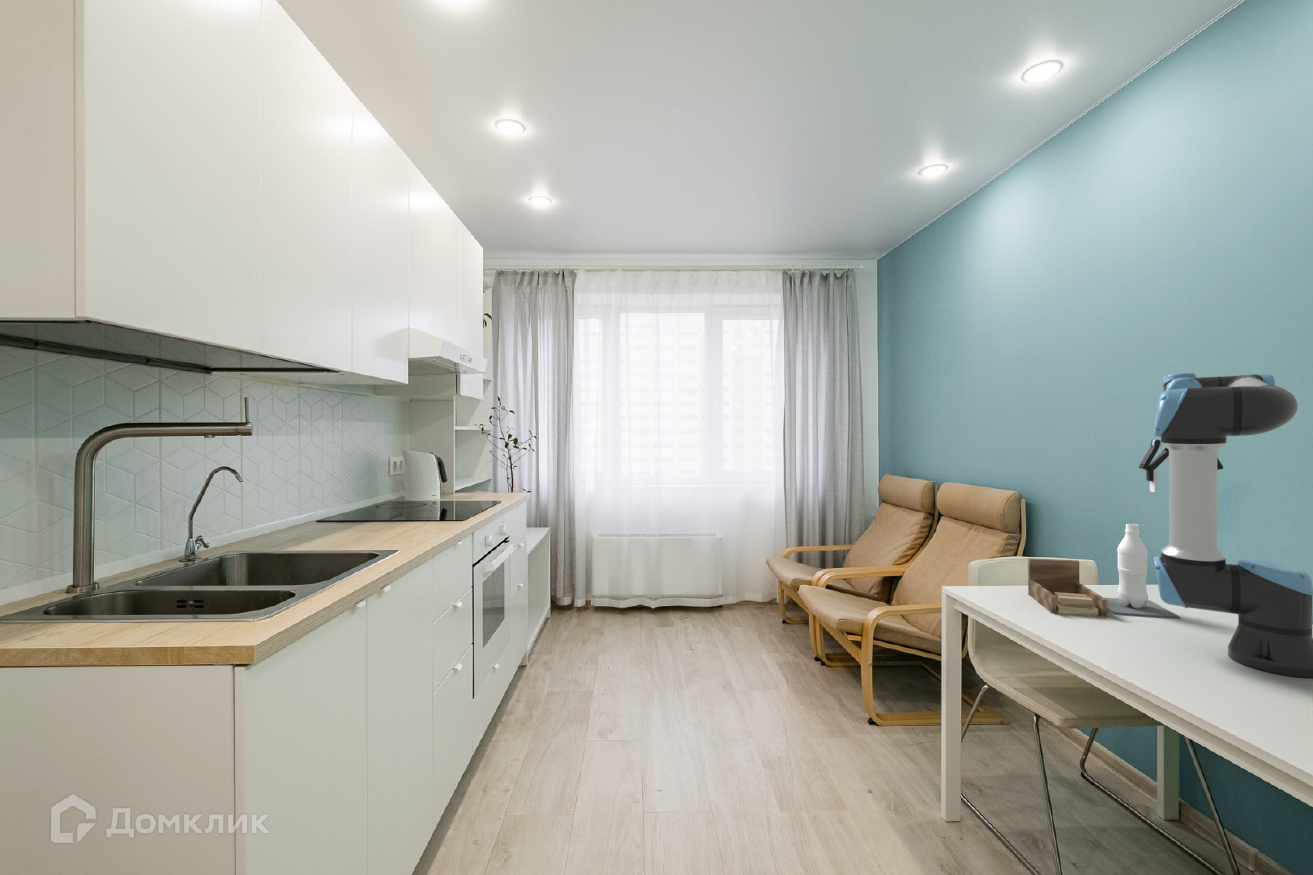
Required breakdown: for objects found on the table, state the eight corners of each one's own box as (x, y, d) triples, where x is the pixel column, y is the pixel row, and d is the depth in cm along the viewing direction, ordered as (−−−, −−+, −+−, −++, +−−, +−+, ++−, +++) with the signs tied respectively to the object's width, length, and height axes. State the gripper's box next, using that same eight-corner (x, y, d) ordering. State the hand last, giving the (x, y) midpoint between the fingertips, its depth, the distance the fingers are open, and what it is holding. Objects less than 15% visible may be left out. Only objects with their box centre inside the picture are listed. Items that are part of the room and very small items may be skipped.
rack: (1107, 616, 165) (1106, 575, 165) (1051, 612, 169) (1051, 573, 169) (1077, 596, 184) (1077, 560, 184) (1028, 594, 188) (1028, 558, 188)
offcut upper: (1092, 608, 166) (1092, 600, 166) (1059, 605, 169) (1059, 597, 169) (1086, 602, 172) (1086, 594, 172) (1054, 600, 175) (1054, 592, 175)
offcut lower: (1098, 617, 166) (1098, 609, 166) (1058, 614, 169) (1058, 606, 169) (1088, 610, 173) (1087, 602, 173) (1050, 607, 176) (1049, 599, 175)
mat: (1180, 618, 162) (1180, 616, 162) (1114, 614, 167) (1114, 612, 167) (1149, 602, 178) (1149, 600, 178) (1089, 598, 182) (1089, 596, 182)
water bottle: (1154, 609, 169) (1154, 526, 168) (1130, 609, 169) (1129, 526, 168) (1134, 602, 176) (1134, 522, 176) (1111, 602, 176) (1111, 522, 176)
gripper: (1221, 423, 175) (1221, 491, 175) (1125, 424, 182) (1125, 490, 182) (1238, 422, 168) (1239, 494, 168) (1138, 424, 175) (1138, 492, 175)
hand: (1180, 492), depth 175 cm, fingers open, 13 cm apart
